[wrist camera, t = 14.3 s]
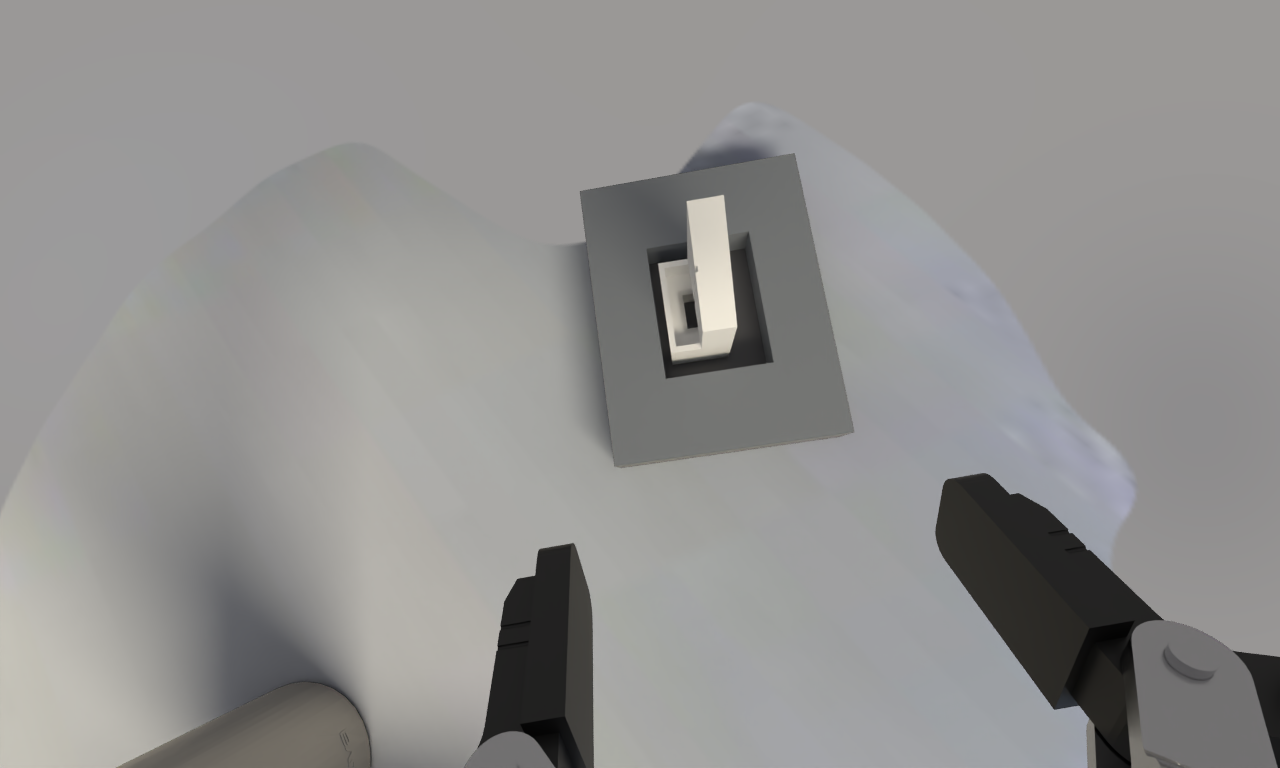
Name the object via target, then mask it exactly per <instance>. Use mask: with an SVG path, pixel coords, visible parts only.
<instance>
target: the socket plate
mask: <svg viewBox="0 0 1280 768" xmlns="http://www.w3.org/2000/svg"><path fill="white" fill-rule="evenodd" d="M721 195H724V202H725V211H726V221H727V231H728V241H729V251H730V260H731V270H732V280H733V290H734V300H735V309H736V319H737V330H736V333H735V336H734V340H733V343H732V347H731V350H730V353H729V357H722V358H715V359H709V360H702V361H695V362H688V363H681V364H675V365H673V363H672V357H671V350H670V343H669V336H668V329H667V322H666V315H665V308H664V301H663V294H662V288H661V281H660V274H659V267H658V263H665V262H671V261H677V260H683V259H687V201H691V200H697V199H703V198H709V197H715V196H721ZM580 196H581V204H582V212H583V220H584V228H585V236H586V244H587V252H588V260H589V268H590V276H591V284H592V292H593V300H594V308H595V315H596V323H597V331H598V339H599V347H600V355H601V363H602V371H603V379H604V387H605V395H606V403H607V411H608V419H609V427H610V434H611V442H612V450H613V458H614V466H615V467H619V468H624V467H631V466H638V465H645V464H652V463H659V462H666V461H673V460H680V459H687V458H694V457H701V456H709V455H716V454H723V453H730V452H737V451H744V450H751V449H758V448H765V447H772V446H779V445H786V444H793V443H800V442H807V441H814V440H821V439H828V438H835V437H841V436H844V435H847V434H850V433H853V432H854V428H853V423H852V418H851V414H850V409H849V404H848V400H847V395H846V390H845V386H844V381H843V376H842V372H841V367H840V362H839V358H838V353H837V348H836V344H835V339H834V334H833V330H832V325H831V320H830V316H829V311H828V306H827V302H826V297H825V292H824V288H823V283H822V278H821V274H820V269H819V264H818V260H817V255H816V250H815V246H814V241H813V237H812V232H811V227H810V223H809V218H808V213H807V209H806V204H805V199H804V195H803V190H802V185H801V181H800V176H799V171H798V167H797V162H796V157H795V153H793V154H788V155H782V156H776V157H771V158H765V159H759V160H754V161H748V162H743V163H737V164H731V165H726V166H720V167H714V168H709V169H703V170H697V171H692V172H686V173H680V174H675V175H669V176H664V177H658V178H652V179H648V180H641V181H636V182H630V183H624V184H618V185H613V186H607V187H602V188H596V189H590V190H585V191H580ZM684 308H685V314H686V321H687V327H688V329H690V328H696V327H698V323H697V317H696V310H695V301H693V302H686V303H684Z"/></svg>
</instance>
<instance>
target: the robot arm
mask: <svg viewBox="0 0 1280 768" xmlns="http://www.w3.org/2000/svg"><path fill="white" fill-rule="evenodd" d="M936 540H937V544H938V547H939V550H940V552H941V554H942V556H943V558H944V559H945V561H946V562H947V563H948V565H949V566H950V568H951V569H952V570H953V572H954V573H955V574H956V576H957V577H958V578H959V580H960V581H961V583H962V584H963V585H964V587H965V588H966V589H967V591H968V592H969V594H970V595H971V596H972V598H973V599H974V600H975V602H976V603H977V605H978V606H979V607H980V609H981V610H982V611H983V613H984V614H985V615H986V617H987V618H988V620H989V621H990V622H991V624H992V625H993V626H994V628H995V629H996V631H997V632H998V633H999V635H1000V636H1001V637H1002V639H1003V640H1004V642H1005V643H1006V644H1007V646H1008V647H1009V648H1010V650H1011V651H1012V652H1013V654H1014V655H1015V657H1016V658H1017V659H1018V661H1019V662H1020V663H1021V665H1022V666H1023V668H1024V669H1025V670H1026V672H1027V673H1028V674H1029V676H1030V677H1031V679H1032V680H1033V681H1034V683H1035V684H1036V685H1037V687H1038V688H1039V689H1040V691H1041V692H1042V694H1043V695H1044V696H1045V698H1046V699H1047V700H1048V702H1049V703H1050V705H1051V706H1052V707H1053V709H1054V710H1055V709H1061V708H1067V707H1073V706H1078V705H1079V706H1080V707H1081V708H1082V710H1083V711H1084V712H1085V714H1086V715H1087V716H1088V717H1089V721H1088V724H1087V729H1086V734H1087V762H1088V768H1280V657H1275V656H1267V655H1259V654H1251V653H1242V652H1236V651H1232V650H1230V649H1229V648H1228V647H1227V646H1225V645H1224V644H1223V643H1221V642H1220V641H1218V640H1217V639H1215V638H1213V637H1212V636H1210V635H1208V634H1206V633H1204V632H1202V631H1200V630H1198V629H1195V628H1193V627H1190V626H1187V625H1184V624H1180V623H1176V622H1171V621H1165V620H1163V619H1162V618H1161V617H1160V616H1159V615H1157V614H1156V613H1155V612H1154V611H1153V610H1152V609H1151V608H1150V607H1149V606H1148V605H1147V604H1146V603H1145V602H1144V601H1143V600H1142V599H1141V598H1140V597H1138V596H1137V595H1136V594H1135V593H1134V592H1133V591H1132V590H1131V589H1130V588H1129V587H1128V586H1127V585H1126V584H1125V583H1124V582H1123V581H1122V580H1121V579H1120V578H1119V577H1118V576H1117V575H1115V574H1114V573H1113V572H1112V571H1111V570H1110V569H1109V568H1108V567H1107V566H1106V565H1105V564H1104V563H1103V562H1102V561H1101V560H1100V559H1099V558H1098V557H1097V556H1096V555H1095V554H1094V553H1092V552H1091V551H1090V550H1087V549H1086V548H1085V545H1084V544H1083V543H1082V542H1081V541H1080V540H1079V539H1078V538H1077V537H1076V536H1075V535H1074V534H1073V533H1069V532H1068V529H1067V528H1066V527H1065V526H1064V525H1063V524H1062V523H1061V522H1060V521H1059V520H1058V519H1057V518H1056V517H1055V516H1054V515H1053V514H1052V513H1051V512H1050V511H1048V510H1047V509H1046V508H1044V507H1043V506H1041V505H1039V504H1037V503H1035V502H1034V501H1032V500H1030V499H1028V498H1026V497H1025V496H1023V495H1021V494H1019V493H1017V494H1011V495H1010V494H1009V493H1008V492H1007V491H1006V490H1005V489H1004V488H1003V487H1002V486H1001V485H1000V484H999V483H998V482H997V481H996V480H995V479H994V478H993V477H991V476H990V475H988V474H986V473H981V474H975V475H970V476H964V477H958V478H952V479H948V480H946V481H945V483H944V485H943V490H942V495H941V501H940V507H939V513H938V518H937V524H936ZM497 646H498V651H497V652H496V658H495V665H494V671H493V677H492V684H491V690H490V696H489V703H488V709H487V716H486V722H485V728H484V732H483V736H482V739H481V741H480V744H479V746H478V748H477V750H476V751H475V752H474V753H473V755H472V756H471V757H470V758H469V760H468V762H467V764H466V765H465V767H464V768H594V746H593V629H592V607H591V599H590V594H589V589H588V586H587V582H586V579H585V576H584V573H583V569H582V566H581V563H580V559H579V556H578V553H577V550H576V547H575V545H574V543H572V544H566V545H560V546H554V547H549V548H543V549H540V550H539V551H538V556H537V565H536V574H535V576H531V577H526V578H520V579H517V581H516V582H515V584H514V586H513V587H512V589H511V591H510V593H509V594H508V596H507V598H506V600H505V601H504V607H503V614H502V620H501V631H500V633H499V639H498V645H497ZM370 757H371V754H370V746H369V738H368V735H367V732H366V729H365V726H364V723H363V721H362V719H361V717H360V716H359V714H358V712H357V710H356V709H355V707H354V706H353V705H352V704H351V703H350V702H349V701H348V700H347V699H346V697H345V696H343V695H342V694H340V693H339V692H337V691H336V690H334V689H333V688H330V687H328V686H325V685H322V684H319V683H311V682H299V683H292V684H288V685H285V686H283V687H280V688H277V689H275V690H273V691H271V692H269V693H267V694H265V695H263V696H261V697H259V698H257V699H255V700H253V701H251V702H249V703H247V704H245V705H243V706H241V707H238V708H236V709H234V710H232V711H230V712H228V713H226V714H224V715H222V716H220V717H218V718H216V719H214V720H212V721H209V722H207V723H205V724H203V725H201V726H199V727H197V728H195V729H193V730H191V731H189V732H187V733H185V734H183V735H181V736H179V737H177V738H175V739H173V740H171V741H169V742H167V743H165V744H163V745H161V746H159V747H157V748H155V749H153V750H151V751H149V752H147V753H145V754H143V755H141V756H139V757H137V758H135V759H133V760H130V761H128V762H126V763H124V764H122V765H120V766H118V767H116V768H370Z"/></svg>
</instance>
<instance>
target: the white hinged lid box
mask: <svg viewBox="0 0 1280 768" xmlns="http://www.w3.org/2000/svg"><path fill="white" fill-rule="evenodd" d="M658 267H659V274H660V281H661V288H662V294H663V301H664V308H665V315H666V322H667V329H668V336H669V343H670V350H671V357H672V363H673V365H675V364H681V363H688V362H695V361H702V360H709V359H715V358H722V357H729V353H730V350H731V347H732V343H733V340H734V336H735V333H736V330H737V319H736V309H735V300H734V290H733V280H732V270H731V260H730V251H729V241H728V231H727V221H726V211H725V202H724V195H721V196H715V197H709V198H703V199H697V200H691V201H687V259H683V260H677V261H671V262H665V263H658ZM693 301H695V310H696V317H697V323H698V327H696V328H690V329H688V327H687V321H686V314H685V308H684V303H686V302H693Z"/></svg>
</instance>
